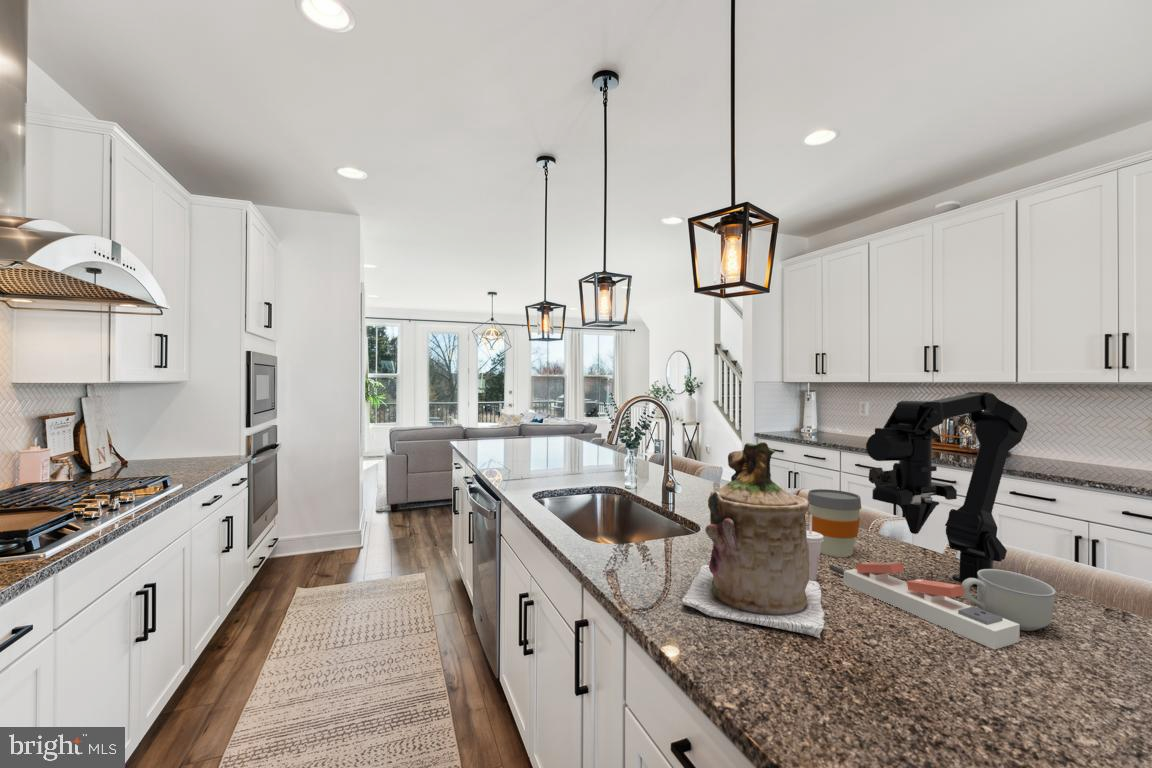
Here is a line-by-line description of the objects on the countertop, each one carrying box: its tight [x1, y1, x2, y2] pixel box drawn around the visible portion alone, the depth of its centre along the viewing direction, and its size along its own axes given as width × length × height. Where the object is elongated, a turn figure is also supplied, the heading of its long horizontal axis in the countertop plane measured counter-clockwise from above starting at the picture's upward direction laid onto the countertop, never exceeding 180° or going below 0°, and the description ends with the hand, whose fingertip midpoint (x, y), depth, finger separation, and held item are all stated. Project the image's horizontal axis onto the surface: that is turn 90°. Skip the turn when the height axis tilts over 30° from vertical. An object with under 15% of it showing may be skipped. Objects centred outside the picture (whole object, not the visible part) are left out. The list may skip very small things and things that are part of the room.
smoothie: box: [806, 515, 824, 581], centre depth 110 cm, size 6×6×14 cm
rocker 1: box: [855, 561, 905, 574], centre depth 103 cm, size 4×8×2 cm, turn 22°
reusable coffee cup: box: [807, 488, 862, 558], centre depth 128 cm, size 13×13×15 cm
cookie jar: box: [682, 441, 826, 640], centre depth 98 cm, size 25×25×32 cm
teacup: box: [961, 568, 1057, 632], centre depth 90 cm, size 14×11×8 cm
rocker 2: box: [906, 578, 965, 599], centre depth 92 cm, size 4×8×2 cm, turn 22°
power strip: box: [829, 564, 1021, 651], centre depth 97 cm, size 7×34×4 cm, turn 22°
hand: (914, 533), depth 104 cm, fingers closed
